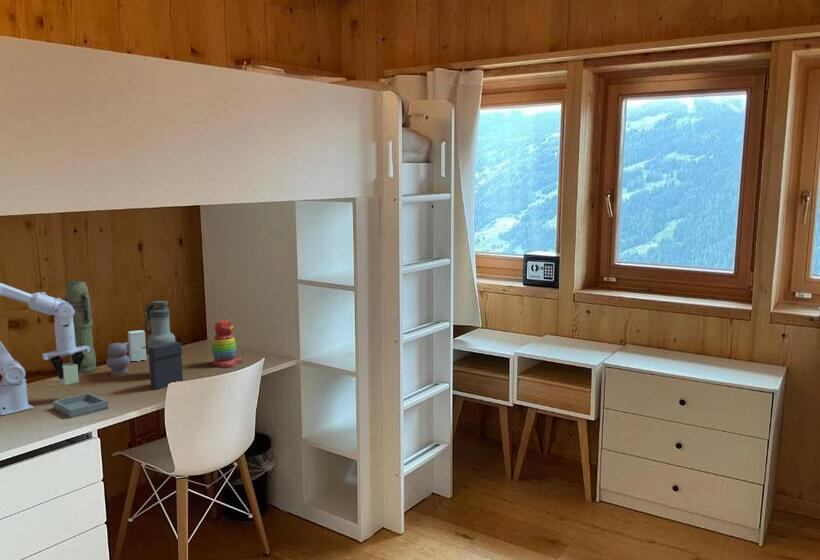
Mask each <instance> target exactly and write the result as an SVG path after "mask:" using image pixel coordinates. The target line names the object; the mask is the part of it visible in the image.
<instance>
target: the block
mask: <svg viewBox="0 0 820 560" xmlns="http://www.w3.org/2000/svg"><path fill="white" fill-rule="evenodd" d="M62 370H63V379H60V378H59V377H58V380H59V383H60V384H62V385H64V386H66V385H70V384H76V383H80V379H79V375H78V365H77V364H75V363H72V362H71V363H70V362H66V363H63V364H62Z"/></svg>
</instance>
